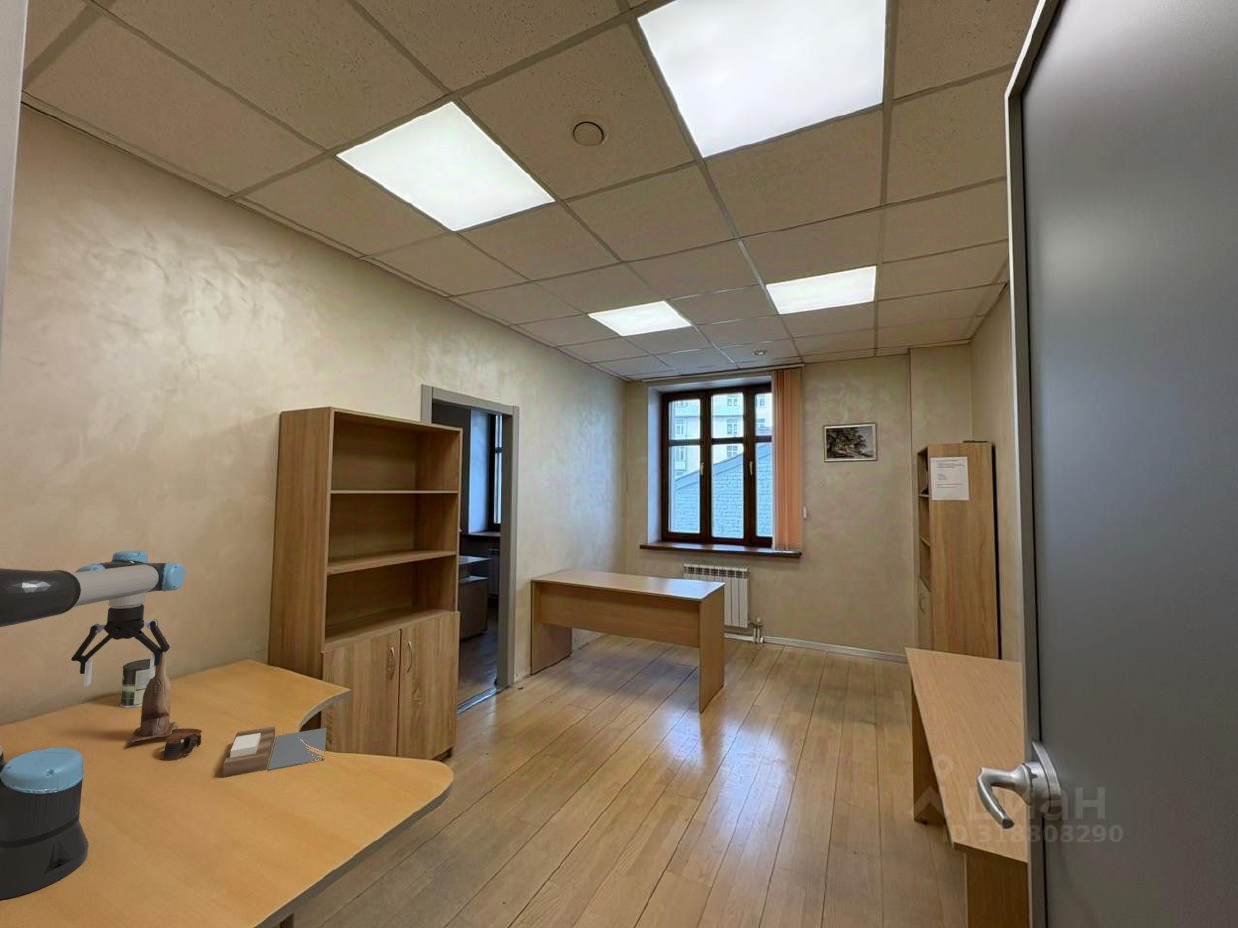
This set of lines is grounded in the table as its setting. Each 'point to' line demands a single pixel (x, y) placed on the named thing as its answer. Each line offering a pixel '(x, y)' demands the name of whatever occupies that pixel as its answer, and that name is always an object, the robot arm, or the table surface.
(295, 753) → the mat
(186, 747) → the pottery mug
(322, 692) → the table surface
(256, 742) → the white rectangular block
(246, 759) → the block
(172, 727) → the brown tall tapered piece
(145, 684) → the coffee can
